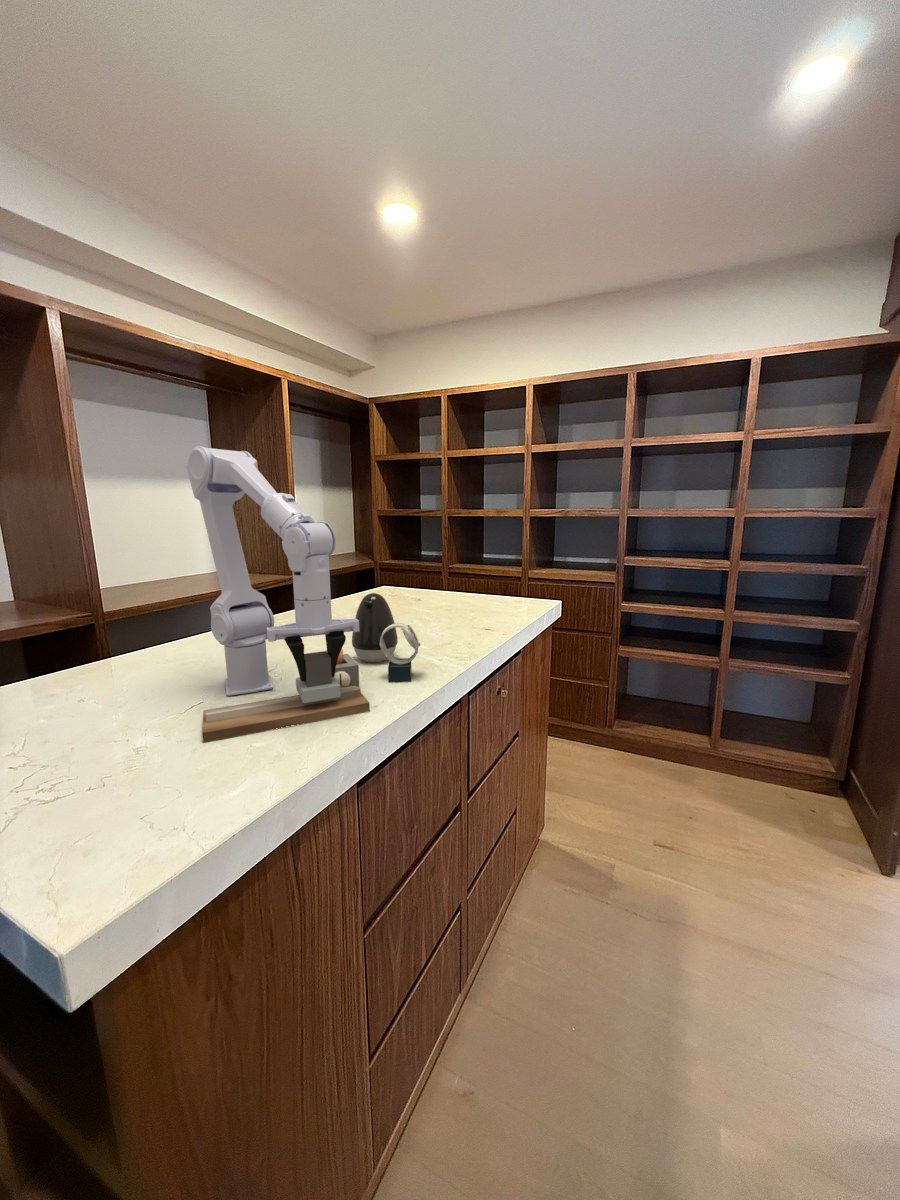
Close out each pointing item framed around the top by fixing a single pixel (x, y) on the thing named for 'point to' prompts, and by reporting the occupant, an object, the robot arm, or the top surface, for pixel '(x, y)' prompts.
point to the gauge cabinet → (347, 672)
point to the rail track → (278, 714)
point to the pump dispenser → (374, 629)
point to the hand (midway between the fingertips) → (317, 677)
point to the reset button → (340, 657)
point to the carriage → (317, 679)
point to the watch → (401, 666)
